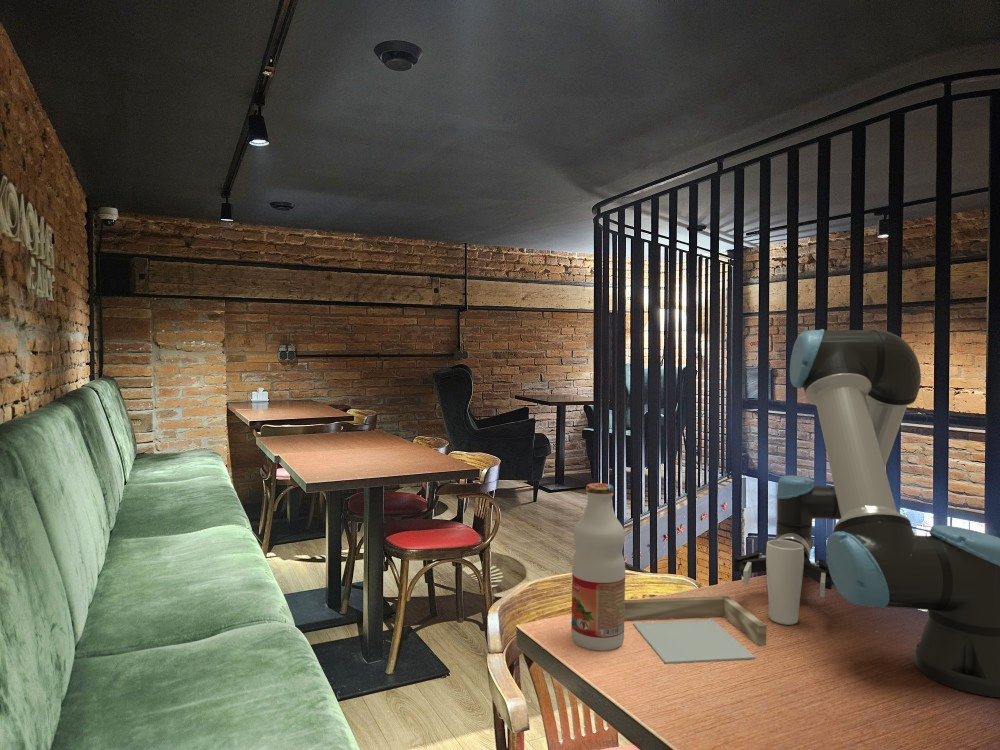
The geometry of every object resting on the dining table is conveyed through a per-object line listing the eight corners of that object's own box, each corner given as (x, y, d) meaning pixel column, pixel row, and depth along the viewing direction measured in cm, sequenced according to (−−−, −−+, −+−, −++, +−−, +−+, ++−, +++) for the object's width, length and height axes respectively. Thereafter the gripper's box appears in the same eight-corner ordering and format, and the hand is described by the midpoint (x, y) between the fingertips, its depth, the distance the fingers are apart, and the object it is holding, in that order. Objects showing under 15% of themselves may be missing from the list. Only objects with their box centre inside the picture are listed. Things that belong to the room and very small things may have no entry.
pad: (755, 659, 111) (755, 657, 111) (665, 663, 109) (665, 661, 109) (712, 621, 127) (712, 619, 127) (633, 624, 125) (633, 623, 125)
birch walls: (766, 644, 117) (766, 625, 117) (638, 651, 114) (639, 631, 113) (727, 613, 131) (727, 595, 131) (613, 618, 128) (613, 600, 128)
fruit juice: (623, 654, 112) (626, 491, 111) (568, 649, 114) (571, 489, 113) (624, 632, 121) (627, 481, 121) (573, 627, 123) (575, 479, 123)
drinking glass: (760, 621, 127) (762, 545, 127) (769, 611, 132) (770, 537, 132) (798, 630, 123) (800, 551, 123) (805, 619, 129) (807, 543, 128)
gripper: (854, 581, 139) (856, 615, 120) (730, 563, 150) (714, 591, 131) (855, 546, 138) (857, 574, 120) (731, 530, 150) (715, 554, 131)
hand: (782, 583), depth 125 cm, fingers open, 13 cm apart
